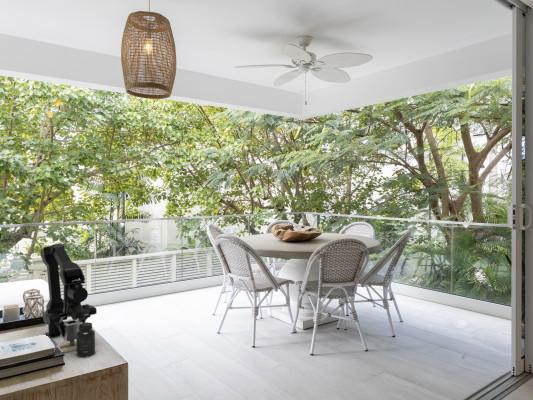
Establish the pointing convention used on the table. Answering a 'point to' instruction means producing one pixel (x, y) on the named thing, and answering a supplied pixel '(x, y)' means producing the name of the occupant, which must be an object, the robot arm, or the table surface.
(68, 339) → the hollow square tube
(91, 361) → the table surface
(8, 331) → the table surface
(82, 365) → the table surface
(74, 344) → the shaft plate
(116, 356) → the table surface
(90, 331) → the supplement bottle
